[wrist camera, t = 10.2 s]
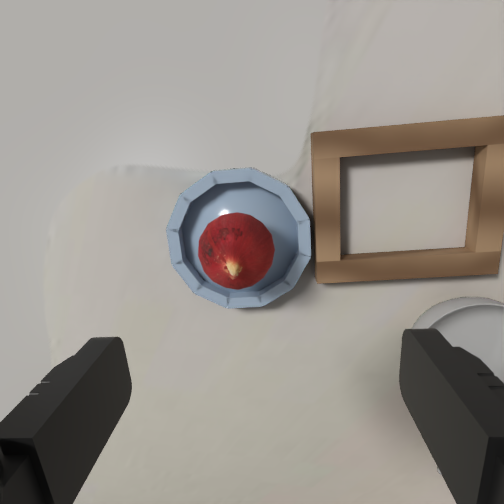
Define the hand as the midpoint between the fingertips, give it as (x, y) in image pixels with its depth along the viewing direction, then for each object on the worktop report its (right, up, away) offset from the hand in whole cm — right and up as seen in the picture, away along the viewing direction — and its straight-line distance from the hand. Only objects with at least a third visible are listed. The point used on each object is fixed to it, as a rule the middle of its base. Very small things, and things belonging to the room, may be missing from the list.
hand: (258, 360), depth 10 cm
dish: (-1, +4, +20) cm, 21 cm away
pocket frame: (+13, +7, +19) cm, 24 cm away
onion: (-1, +4, +20) cm, 20 cm away
